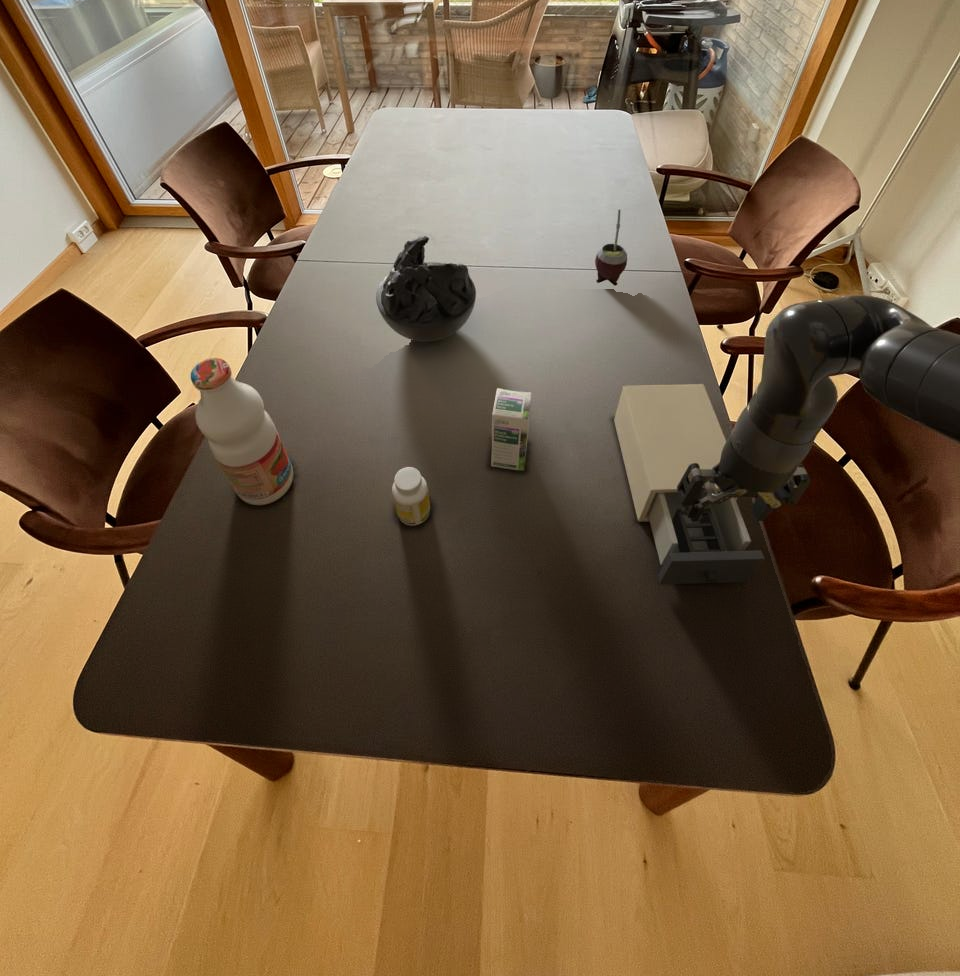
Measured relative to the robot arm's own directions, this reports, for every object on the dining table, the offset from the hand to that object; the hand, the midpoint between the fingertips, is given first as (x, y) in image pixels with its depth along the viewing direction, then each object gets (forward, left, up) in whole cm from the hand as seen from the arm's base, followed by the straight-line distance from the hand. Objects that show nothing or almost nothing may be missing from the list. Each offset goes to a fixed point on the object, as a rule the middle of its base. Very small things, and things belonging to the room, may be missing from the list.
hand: (724, 514), depth 75 cm
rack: (+2, 0, -13) cm, 13 cm away
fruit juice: (+16, +67, -15) cm, 71 cm away
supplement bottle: (+10, +42, -15) cm, 46 cm away
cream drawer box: (+17, 0, -15) cm, 23 cm away
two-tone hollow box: (+5, 0, -14) cm, 15 cm away
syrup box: (+20, +26, -15) cm, 36 cm away
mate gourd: (+68, 0, -15) cm, 70 cm away
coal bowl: (+52, +41, -15) cm, 68 cm away
